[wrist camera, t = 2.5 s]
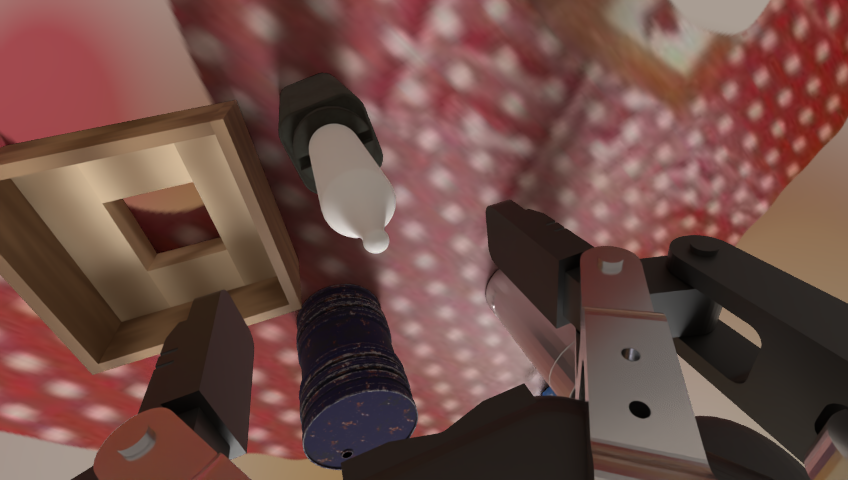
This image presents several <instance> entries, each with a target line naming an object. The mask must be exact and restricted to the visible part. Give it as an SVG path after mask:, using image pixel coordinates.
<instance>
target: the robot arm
mask: <svg viewBox="0 0 848 480" xmlns="http://www.w3.org/2000/svg"><path fill="white" fill-rule="evenodd" d="M486 223H487V235H488V247H489V252H490V255H491V258H492V260H493V262H494V263H495V265H496V266H497V267H498V268H499V269H498V270H497V271H496V272H495V274H494V275H493V276H492V278H491V279H490V281H489V283H488V286H487V290H486V300H487V303H488V305H489V307H490V308H491V309H492V311H493V312H494V314H495V315H496V316H497V318H498V319H499V320H500V321H501V323H502V324H503V325H504V327H505V328H506V329H507V331H508V332H509V333H510V335H511V336H512V337H513V339H514V340H515V341H516V343H517V344H518V345H519V346H520V348H521V349H522V350H523V352H524V353H525V354H526V356H527V357H528V358H529V360H530V361H531V362H532V364H533V365H534V366H535V368H536V369H537V370H538V372H539V373H540V374H541V376H542V377H543V378H544V379H545V381H546V382H547V383H548V385H549V386H550V387H551V389H552V390H553V391H554V393H555V394H556V395H557V396H552V395H547V396H533V395H532V394H531V392H530V391H529V389H528V388H527V387H526V385H525V384H522V385H519V386H517V387H515V388H512V389H510V390H508V391H506V392H503V393H501V394H499V395H496V396H494V397H492V398H489V399H487V400H485V401H483V402H481V403H480V404H479V405H477V406H476V407H475V408H474V409H472V410H471V411H470V412H468V413H467V414H466V415H465V416H463V417H462V418H461V419H459V420H458V421H457V422H456V423H454V424H453V425H452V426H450V427H449V428H448V429H447V430H445V431H443V432H441V433H438V434H432V435H426V436H420V437H414V438H408V439H402V440H396V441H390V442H387V443H385V444H383V445H380V446H378V447H376V448H374V449H371V450H369V451H367V452H364V453H362V454H360V455H357V456H355V457H353V458H350V459H348V460H346V461H343V462H341V468H342V475H343V480H848V303H845V302H843V301H842V300H840V299H838V298H836V297H833V296H831V295H830V294H828V293H826V292H824V291H821V290H820V289H818V288H816V287H814V286H812V285H810V284H808V283H806V282H804V281H802V280H800V279H798V278H796V277H794V276H792V275H790V274H788V273H786V272H784V271H782V270H780V269H778V268H776V267H774V266H772V265H770V264H768V263H766V262H764V261H762V260H760V259H758V258H756V257H754V256H752V255H750V254H748V253H746V252H744V251H742V250H740V249H738V248H736V247H734V246H732V245H730V244H728V243H726V242H724V241H722V240H719V239H716V238H712V237H707V236H700V235H689V236H682V237H679V238H676V239H675V240H673V241H672V242H671V244H670V247H669V251H668V256H660V257H652V258H643V259H639V258H638V257H637V256H636V255H635V254H634V253H632V252H630V251H628V250H625V249H622V248H619V247H613V246H600V247H593V246H592V245H590V244H589V243H587V242H586V241H584V240H583V239H581V238H580V237H578V236H577V235H575V234H574V233H572V232H571V231H569V230H568V229H564V227H563V226H562V225H560V224H559V223H557V222H556V223H555V221H554V220H553V219H551V218H550V217H548V216H547V215H545V214H544V213H540V212H537V211H534V210H530V209H527V210H525V209H523V208H522V207H520V206H519V205H518V204H516V203H515V202H513V201H512V200H506V201H503V202H500V203H497V204H493V205H490V206H488V207H487V208H486ZM722 307H724V308H725V309H727V310H728V311H730V312H731V313H733V314H734V315H736V316H737V317H739V318H740V319H742V320H743V321H745V322H746V323H748V324H749V325H751V326H752V327H753V328H754V329H755V330H756V331H757V333H758V334H759V336H760V339H761V343H762V346H761V348H759V347H758V346H756V345H755V344H753V343H752V342H751V341H749V340H748V339H746V338H745V337H743V336H742V335H740V334H739V333H738V332H736V331H735V330H733V329H732V328H730V327H729V326H728V325H726V324H725V323H723V322H722V321H720V320H719V319H718V318H719V315H720V312H721V309H722ZM160 354H161V356H160V357H159V358H158V361H157V363H156V366H155V367H156V369H155V370H154V372H153V374H152V377H151V380H150V382H149V385H148V388H147V391H146V393H145V396H144V399H143V401H142V404H141V407H140V410H139V412H138V414H137V415H135V416H134V417H132V418H130V419H129V420H127V421H126V422H125V423H123V424H122V425H121V426H119V427H118V428H117V429H116V430H115V431H114V432H113V433H112V434H111V435H110V436H109V437H108V438H107V439H106V440H105V442H104V443H103V444H102V446H101V447H100V449H99V451H98V452H97V454H96V457H95V460H94V464H93V466H92V467H91V468H89V469H88V470H86V471H84V472H83V473H81V474H79V475H78V476H76V477H75V478H73V479H71V480H251V479H250V478H249V477H248V476H247V475H246V474H245V473H244V472H242V471H241V470H240V469H239V468H238V467H237V466H236V465H235V464H234V463H232V462H231V461H230V460H232V459H234V458H237V457H239V456H241V455H244V454H246V453H247V442H248V428H249V415H250V401H251V387H252V374H253V360H254V343H253V338H252V335H251V332H250V330H249V328H248V326H247V324H246V323H245V321H244V319H243V317H242V315H241V314H240V312H239V310H238V308H237V307H236V305H235V303H234V301H233V300H232V298H231V296H230V294H229V293H228V292H227V291H226V290H224V289H223V290H220V291H217V292H213V293H210V294H207V295H204V296H201V297H198V298H195V299H194V300H193V303H192V306H191V309H190V312H189V315H188V318H187V320H185V321H182V322H179V323H178V324H177V325H176V327H175V328H174V329H173V330H172V331H171V333H170V334H169V335H168V336H167V337H166V339H165V342H164V344H163V347H162V350H161V353H160ZM677 354H678V355H679V356H680V357H681V358H683V359H684V360H685V361H686V362H687V363H688V364H689V365H691V366H692V367H693V368H694V369H695V370H696V371H698V372H699V373H700V374H701V375H702V376H703V377H704V378H706V379H707V380H708V381H709V382H710V383H711V384H713V385H714V386H715V387H716V388H717V389H718V390H719V391H721V392H722V393H723V394H724V395H725V396H726V397H727V398H729V399H730V400H731V401H732V402H733V403H734V404H736V405H737V406H738V407H739V408H740V409H741V410H742V411H744V412H745V413H746V414H747V415H748V416H749V417H751V418H752V419H753V420H754V421H755V422H756V423H757V424H759V425H760V426H761V427H762V428H763V429H764V430H765V431H767V432H768V433H769V434H770V435H771V436H772V437H774V438H775V439H776V440H777V441H778V442H779V443H780V444H782V445H783V446H784V447H785V448H786V449H787V450H789V451H790V452H791V453H792V454H793V455H794V456H795V457H797V458H798V459H799V460H800V461H801V462H803V464H805V468H804V467H803V466H802V465H801V464H800V463H799V462H798V461H797V460H796V459H794V458H793V457H792V456H791V455H790V454H789V453H787V452H786V451H785V450H784V449H782V448H781V447H780V446H778V445H776V443H774V442H773V441H771V440H770V439H768V438H767V437H765V436H763V435H762V434H760V433H758V432H756V431H754V430H752V429H750V428H748V427H746V426H744V425H741V424H738V423H736V422H733V421H731V420H727V419H722V418H718V417H711V416H694V412H693V409H692V405H691V402H690V398H689V395H688V391H687V388H686V384H685V381H684V377H683V374H682V370H681V367H680V363H679V360H678V357H677Z"/></svg>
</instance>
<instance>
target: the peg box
mask: <svg viewBox="0 0 848 480" xmlns="http://www.w3.org/2000/svg"><path fill="white" fill-rule="evenodd" d="M190 182H193V183H194V184H195V187H196V189H197V191H198V193H199V195H200V197H201V199H202V201H203V203H204V205H205V207H206V209H207V211H208V213H209V215H210V217H211V219H212V221H213V223H214V225H215V227H216V229H217V231H218V233H219V235H220V237H219V238H215V239H212V240H208V241H204V242H200V243H197V244H193V245H189V246H185V247H182V248H178V249H174V250H170V251H167V252H163V253H159V254H157V253H156V251H155V250H154V248H153V246H152V245H151V243H150V242H149V240H148V238H147V237H146V235H145V234H144V232H143V230H142V229H141V227H140V226H139V224H138V222H137V221H136V219H135V218H134V216H133V214H132V213H131V211H130V210H129V208H128V206H127V205H126V203H125V202H124V200H123V198H127V197H131V196H136V195H140V194H144V193H148V192H153V191H157V190H161V189H165V188H169V187H174V186H178V185H182V184H186V183H190ZM0 275H1V276H2V277H3V278H4V279H5V280H6V281H7V282H8V284H9V285H10V286H11V287H12V288H13V289H14V290H15V291H16V292H17V293H18V294H19V295H20V297H21V298H22V299H23V300H24V301H25V302H26V303H27V304H28V305H29V306H30V307H31V308H32V310H33V311H34V312H35V313H36V314H37V315H38V316H39V317H40V318H41V319H42V320H43V321H44V323H45V324H46V325H47V326H48V327H49V328H50V329H51V330H52V331H53V332H54V333H55V334H56V336H57V337H58V338H59V339H60V340H61V341H62V342H63V343H64V344H65V345H66V346H67V347H68V349H69V350H70V351H71V352H72V353H73V354H74V355H75V356H76V357H77V358H78V359H79V360H80V362H81V363H82V364H83V365H84V366H85V367H86V368H87V369H88V370H89V371H90V372H91V373H92V375H94V374H97V373H100V372H103V371H106V370H109V369H113V368H116V367H119V366H122V365H125V364H128V363H132V362H135V361H138V360H141V359H144V358H147V357H151V356H154V355H157V354H160V353H161V350H162V347H163V344H164V342H165V339H166V337H167V336H168V335H169V334H170V333H171V331H172V330H173V329H174V328H175V327H176V325H177V324H178V323H179V322H182V321H185V320H187V318H188V315H189V312H190V309H191V306H192V303H193V300H194V299H195V298H198V297H201V296H204V295H207V294H210V293H213V292H217V291H220V290H223V289H224V290H226V291H227V292H228V293H229V294H230V296H231V298H232V300H233V301H234V303H235V305H236V307H237V308H238V310H239V312H240V314H241V315H242V317H243V319H244V321H245V323H246V324H247V326H249V325H252V324H255V323H258V322H261V321H264V320H268V319H271V318H274V317H277V316H280V315H283V314H287V313H290V312H293V311H296V310H299V309H302V301H301V286H300V272H299V260H298V258H297V255H296V253H295V250H294V248H293V245H292V242H291V240H290V237H289V235H288V232H287V230H286V227H285V224H284V222H283V219H282V217H281V214H280V212H279V209H278V206H277V204H276V201H275V199H274V196H273V194H272V191H271V188H270V186H269V183H268V181H267V178H266V176H265V173H264V170H263V168H262V165H261V163H260V160H259V158H258V155H257V152H256V150H255V147H254V145H253V142H252V140H251V137H250V134H249V132H248V129H247V127H246V124H245V122H244V119H243V116H242V114H241V111H240V109H239V106H238V104H237V101H236V100H233V101H228V102H223V103H218V104H213V105H208V106H203V107H198V108H193V109H188V110H183V111H178V112H172V113H168V114H162V115H157V116H152V117H147V118H142V119H137V120H132V121H127V122H122V123H118V124H112V125H107V126H102V127H97V128H92V129H87V130H82V131H77V132H72V133H67V134H62V135H57V136H52V137H47V138H42V139H36V140H31V141H27V142H21V143H16V144H11V145H6V146H3V147H1V148H0Z"/></svg>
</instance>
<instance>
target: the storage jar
mask: <svg viewBox="0 0 848 480" xmlns="http://www.w3.org/2000/svg"><path fill="white" fill-rule="evenodd" d="M297 350H298V359H299V364H300V366H301V369H302V382H301V385H300V391H299V400H300V419H301V424H302V432H303V435H302V440H303V449H304V453H305V454H306V456H307V458H308V459H309V460H310V461H311V462H313V463H314V464H316V465H318V466H320V467H323V468H327V469H333V470H342V468H341V462H343V461H346V460H348V459H350V458H353V457H355V456H357V455H360V454H362V453H364V452H367V451H369V450H371V449H374V448H376V447H378V446H380V445H383V444H385V443H387V442H390V441H396V440H402V439H408V438H410V436H411V435H412V433H413V432H414V430H415V428H416V425H417V421H418V412H417V408H416V405H415V402H414V400H413V398H412V394H411V391H410V385H409V382H408V379H407V376H406V374H405V372H404V368H403V365H402V363H401V361H400V360H399V358H398V357H397V356H396V354H395V353H394V350H393V347H392V344H391V334H390V330H389V327H388V324H387V321H386V318H385V316H384V314H383V312H382V310H381V307H380V304H379V302H378V300H377V298H376V297H375V296H374V294H372V293H371V292H370V291H369V290H367V289H365V288H363V287H361V286H357V285H352V284H338V285H333V286H329V287H326V288H324V289H321V290H319V291H318V292H316V293H314V294H313V295H312V296H310V297H309V298H308V299H307V300H306V301H305V302H304V304H303V305H302V309H300V311H299V313H298V317H297Z"/></svg>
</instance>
